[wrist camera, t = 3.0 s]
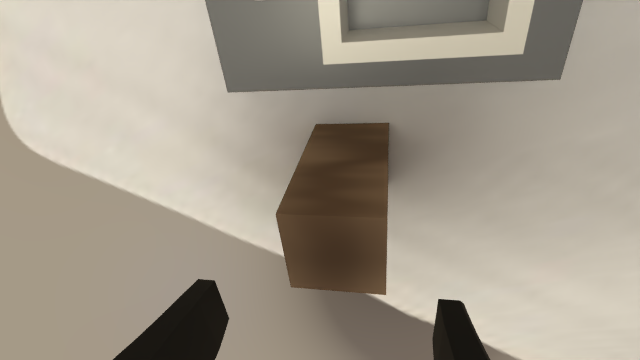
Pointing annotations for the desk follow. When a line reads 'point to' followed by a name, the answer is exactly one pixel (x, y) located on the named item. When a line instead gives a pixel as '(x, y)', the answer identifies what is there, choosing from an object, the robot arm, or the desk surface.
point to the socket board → (389, 42)
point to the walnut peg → (338, 210)
